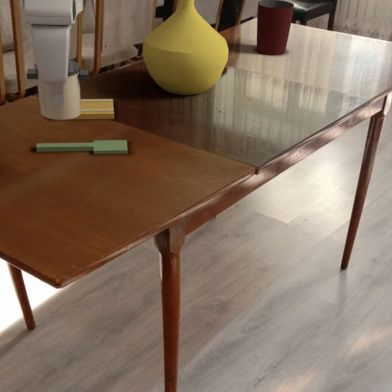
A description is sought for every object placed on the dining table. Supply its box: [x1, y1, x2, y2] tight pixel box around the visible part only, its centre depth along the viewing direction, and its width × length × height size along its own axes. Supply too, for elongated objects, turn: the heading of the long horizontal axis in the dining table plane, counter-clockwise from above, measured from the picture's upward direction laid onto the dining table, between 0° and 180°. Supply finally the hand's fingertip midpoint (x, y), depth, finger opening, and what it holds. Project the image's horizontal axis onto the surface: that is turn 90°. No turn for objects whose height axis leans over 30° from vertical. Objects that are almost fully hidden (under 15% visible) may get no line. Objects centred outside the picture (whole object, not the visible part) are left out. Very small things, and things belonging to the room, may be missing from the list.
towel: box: [72, 98, 115, 120], centre depth 125 cm, size 12×8×1 cm, turn 97°
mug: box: [256, 0, 295, 56], centre depth 159 cm, size 12×9×11 cm
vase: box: [142, 0, 229, 96], centre depth 133 cm, size 18×18×19 cm
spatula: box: [35, 139, 129, 155], centre depth 112 cm, size 16×4×1 cm, turn 97°
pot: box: [26, 59, 90, 121], centre depth 97 cm, size 9×7×8 cm
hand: (59, 94), depth 98 cm, fingers closed on pot, 6 cm apart
